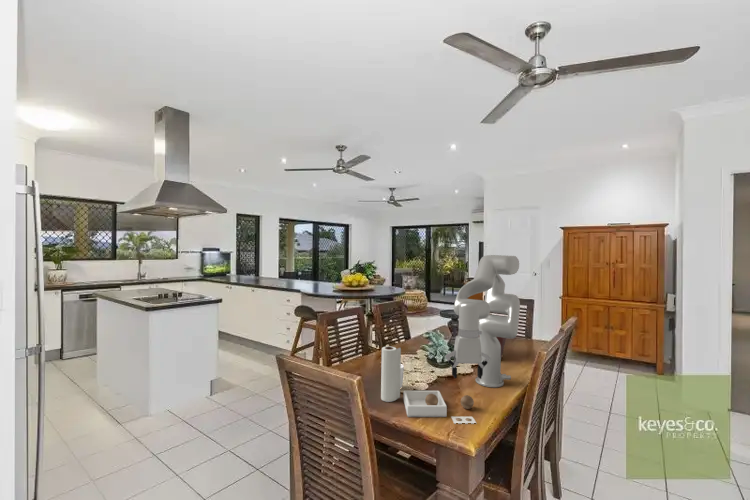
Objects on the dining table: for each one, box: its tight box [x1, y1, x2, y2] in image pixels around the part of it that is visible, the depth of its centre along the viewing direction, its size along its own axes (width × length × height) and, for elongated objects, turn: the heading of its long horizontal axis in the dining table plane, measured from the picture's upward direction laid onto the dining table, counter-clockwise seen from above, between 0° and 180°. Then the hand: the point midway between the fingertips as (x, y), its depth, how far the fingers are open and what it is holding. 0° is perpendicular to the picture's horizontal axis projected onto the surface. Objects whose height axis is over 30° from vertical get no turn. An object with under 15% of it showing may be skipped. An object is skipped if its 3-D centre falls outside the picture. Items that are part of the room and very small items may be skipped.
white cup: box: [400, 363, 405, 388], centre depth 165 cm, size 8×8×10 cm
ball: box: [425, 394, 438, 405], centre depth 145 cm, size 5×5×5 cm
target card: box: [450, 416, 477, 425], centre depth 136 cm, size 8×5×1 cm, turn 91°
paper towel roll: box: [380, 346, 402, 403], centre depth 153 cm, size 7×6×21 cm
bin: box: [403, 390, 448, 418], centre depth 145 cm, size 15×15×4 cm
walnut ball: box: [460, 394, 474, 410], centre depth 146 cm, size 5×5×5 cm
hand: (467, 377), depth 145 cm, fingers open, 9 cm apart
